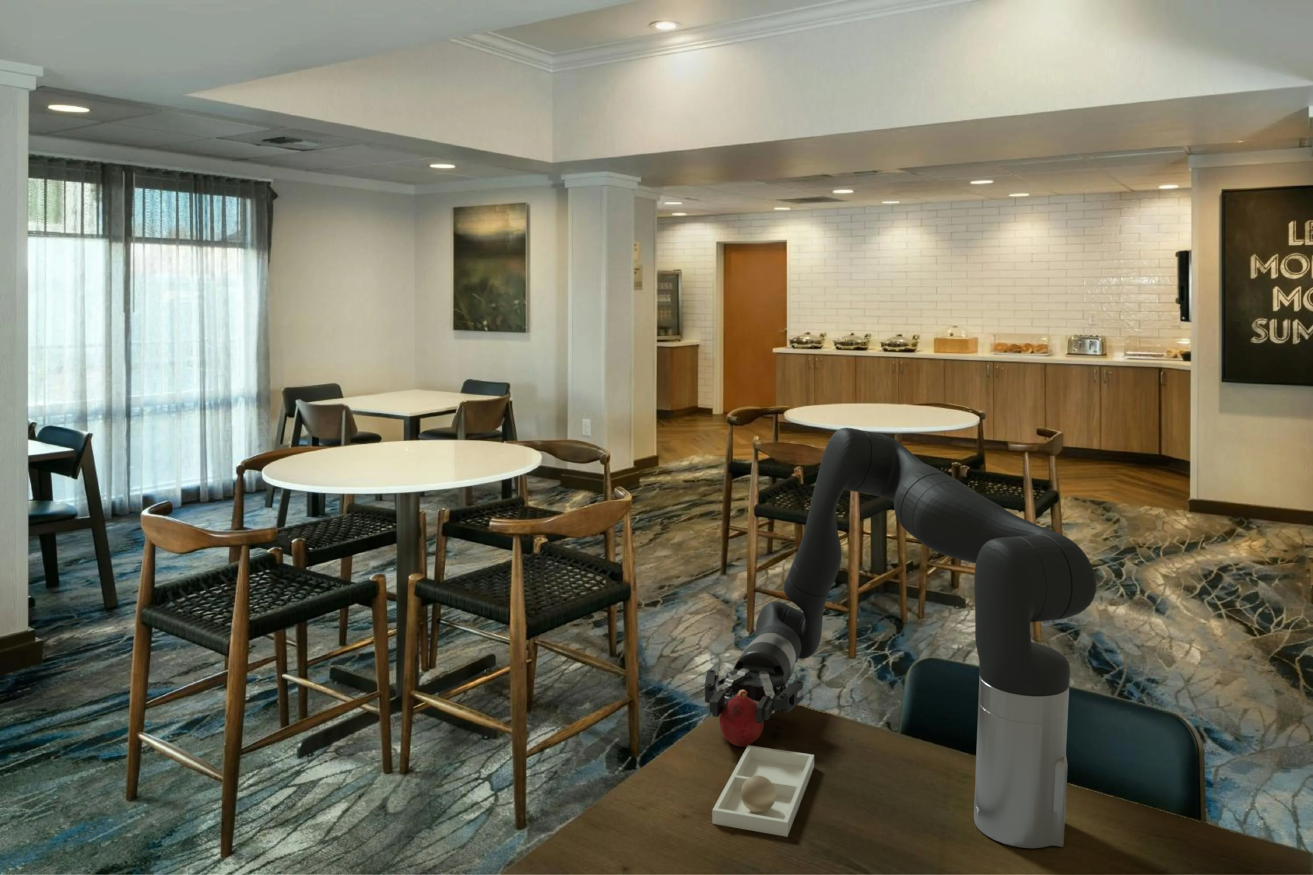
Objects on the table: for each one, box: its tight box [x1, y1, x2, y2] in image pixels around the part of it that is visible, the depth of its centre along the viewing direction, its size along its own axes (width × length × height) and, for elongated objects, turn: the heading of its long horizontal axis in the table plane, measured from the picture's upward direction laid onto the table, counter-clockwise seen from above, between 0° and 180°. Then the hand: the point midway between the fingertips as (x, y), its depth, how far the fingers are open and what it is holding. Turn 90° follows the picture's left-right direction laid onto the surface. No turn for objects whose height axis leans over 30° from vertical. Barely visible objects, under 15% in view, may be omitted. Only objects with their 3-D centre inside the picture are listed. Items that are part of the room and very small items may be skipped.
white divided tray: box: [711, 745, 815, 838], centre depth 113 cm, size 8×16×2 cm, turn 161°
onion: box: [718, 689, 765, 748], centre depth 126 cm, size 6×6×8 cm
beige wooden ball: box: [741, 776, 776, 813], centre depth 109 cm, size 4×4×4 cm
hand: (737, 712), depth 123 cm, fingers closed on onion, 5 cm apart
